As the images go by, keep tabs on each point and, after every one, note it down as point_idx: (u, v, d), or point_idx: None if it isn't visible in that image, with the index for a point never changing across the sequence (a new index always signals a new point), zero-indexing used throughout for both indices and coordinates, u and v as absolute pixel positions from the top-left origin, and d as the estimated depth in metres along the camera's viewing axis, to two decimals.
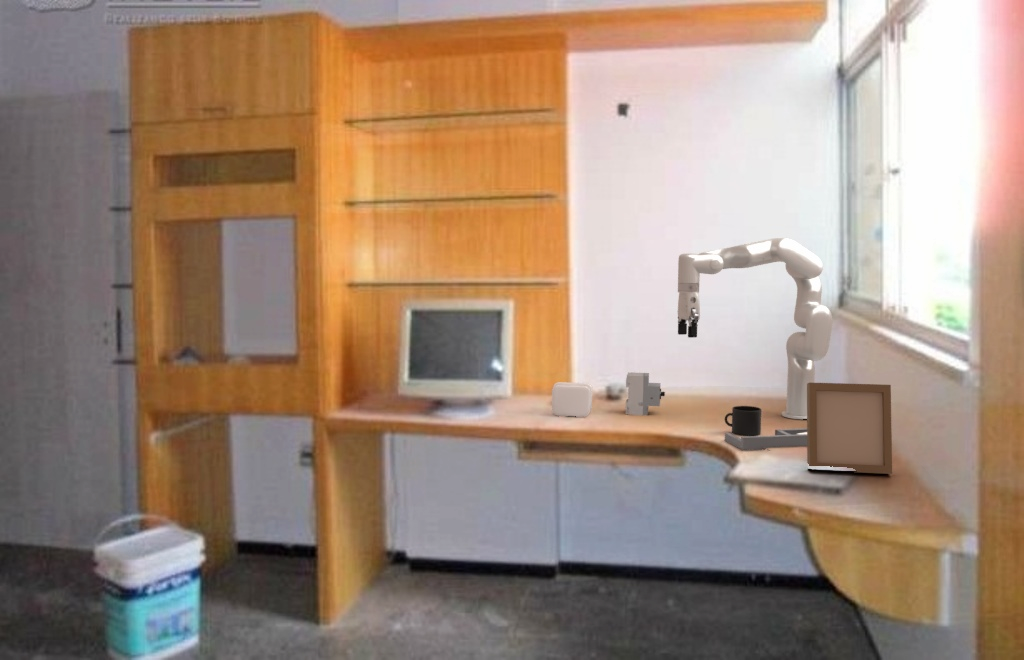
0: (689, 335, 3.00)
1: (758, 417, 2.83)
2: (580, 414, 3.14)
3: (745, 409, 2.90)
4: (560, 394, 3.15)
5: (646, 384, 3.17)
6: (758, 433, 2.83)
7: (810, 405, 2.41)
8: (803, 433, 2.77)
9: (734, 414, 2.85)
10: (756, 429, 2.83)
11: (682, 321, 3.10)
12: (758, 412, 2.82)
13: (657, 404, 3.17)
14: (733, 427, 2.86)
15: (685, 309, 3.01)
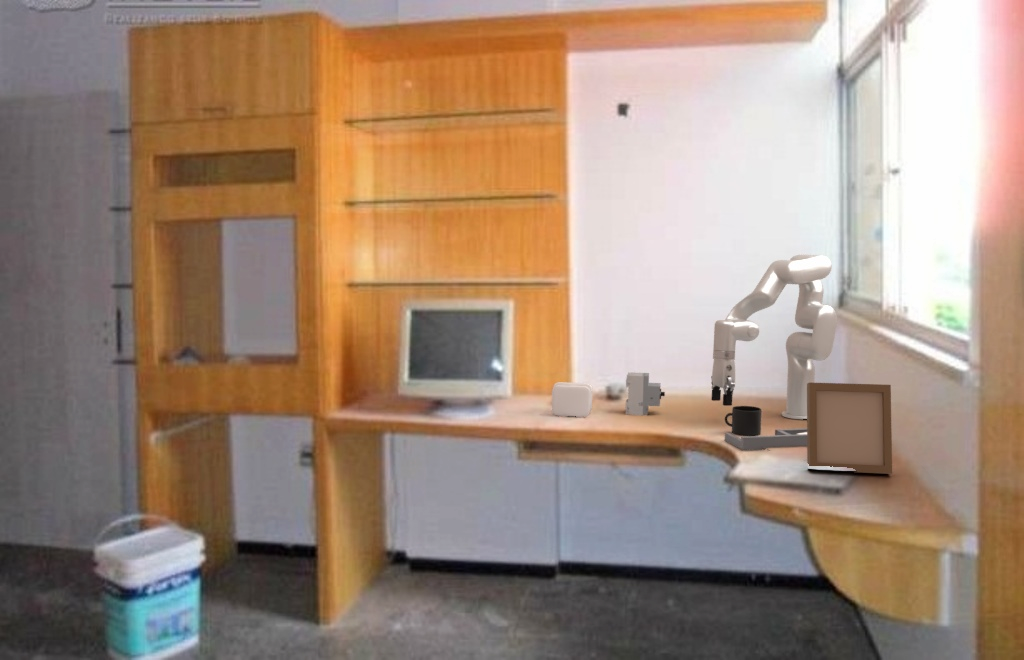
0: (724, 403, 2.97)
1: (758, 417, 2.83)
2: (580, 414, 3.14)
3: (745, 409, 2.90)
4: (560, 394, 3.15)
5: (646, 384, 3.17)
6: (758, 433, 2.83)
7: (810, 405, 2.41)
8: (803, 433, 2.77)
9: (734, 414, 2.85)
10: (756, 429, 2.83)
11: (716, 387, 3.06)
12: (758, 412, 2.82)
13: (657, 404, 3.17)
14: (733, 427, 2.86)
15: (720, 377, 2.97)
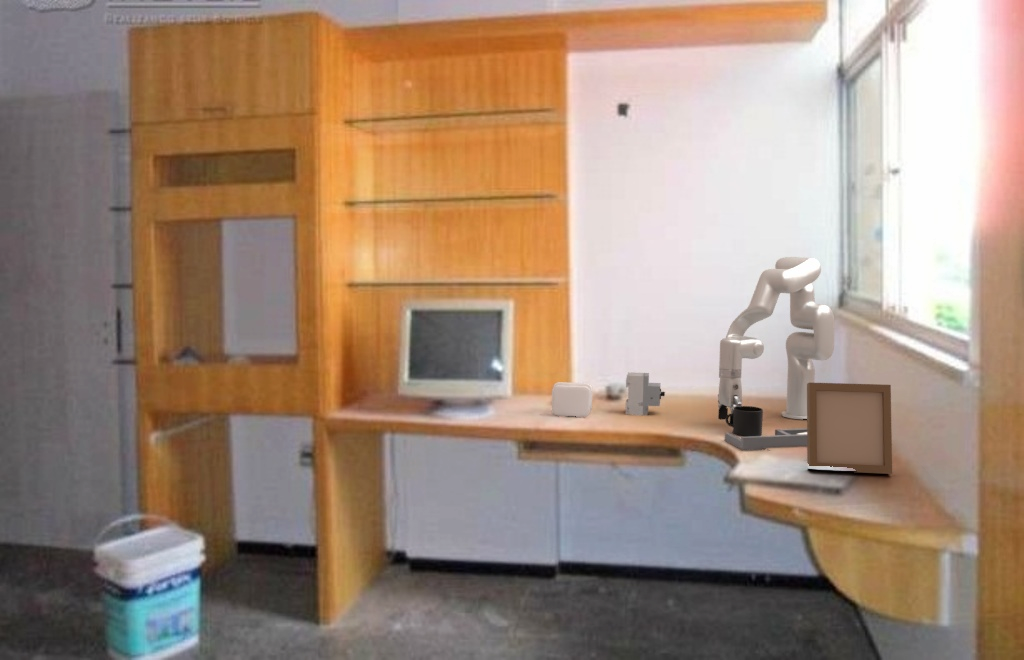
0: (731, 423, 2.92)
1: (760, 417, 2.82)
2: (580, 414, 3.14)
3: (746, 409, 2.89)
4: (560, 394, 3.15)
5: (646, 384, 3.17)
6: (760, 433, 2.83)
7: (810, 405, 2.41)
8: (803, 433, 2.77)
9: (736, 414, 2.83)
10: (758, 429, 2.82)
11: (723, 406, 3.02)
12: (760, 412, 2.81)
13: (657, 404, 3.17)
14: (735, 427, 2.84)
15: (727, 396, 2.93)
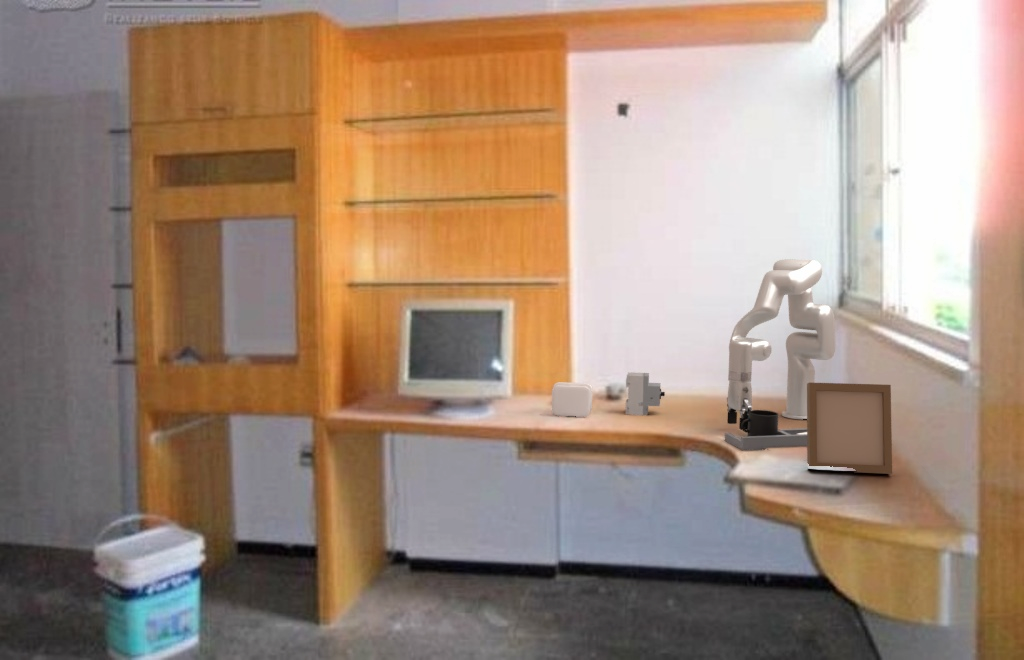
0: None
1: None
2: (580, 414, 3.14)
3: (755, 413, 2.82)
4: (560, 394, 3.15)
5: (646, 384, 3.17)
6: None
7: (810, 405, 2.41)
8: (803, 433, 2.77)
9: (756, 420, 2.75)
10: None
11: (732, 410, 2.94)
12: None
13: (657, 404, 3.17)
14: (754, 433, 2.75)
15: (736, 399, 2.85)
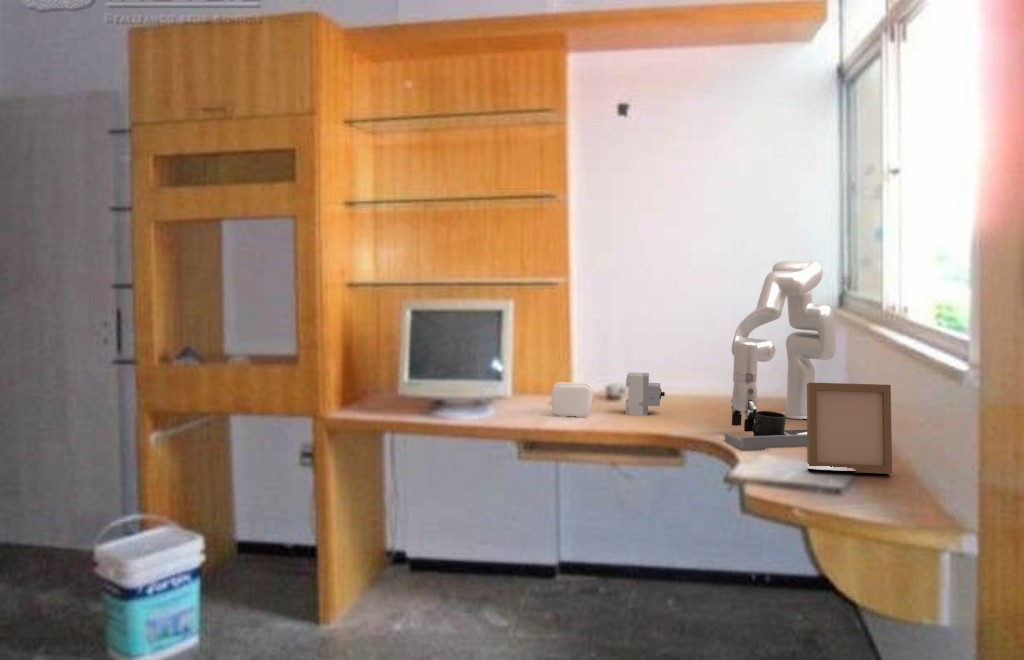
0: (745, 429, 2.79)
1: None
2: (580, 414, 3.14)
3: None
4: (560, 394, 3.15)
5: (646, 384, 3.17)
6: None
7: (810, 405, 2.41)
8: (803, 433, 2.77)
9: (769, 422, 2.71)
10: None
11: (736, 411, 2.89)
12: None
13: (657, 404, 3.17)
14: None
15: (741, 401, 2.80)
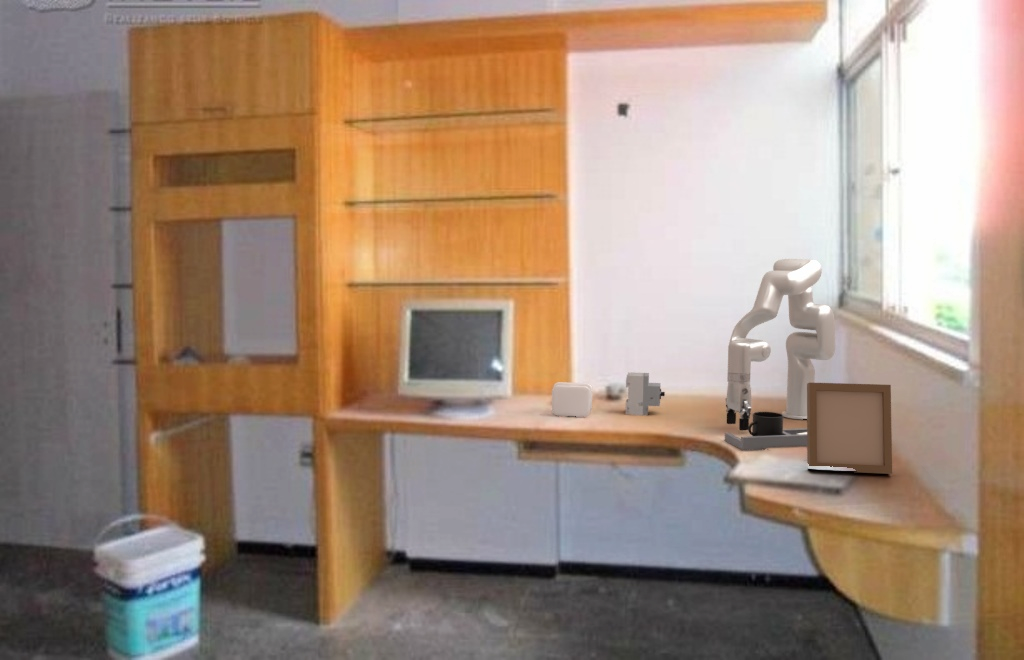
0: (740, 428, 2.86)
1: None
2: (580, 414, 3.14)
3: (757, 415, 2.79)
4: (560, 394, 3.15)
5: (646, 384, 3.17)
6: None
7: (810, 405, 2.41)
8: (803, 433, 2.77)
9: (765, 422, 2.72)
10: (782, 434, 2.75)
11: (731, 410, 2.96)
12: None
13: (657, 404, 3.17)
14: None
15: (736, 400, 2.87)
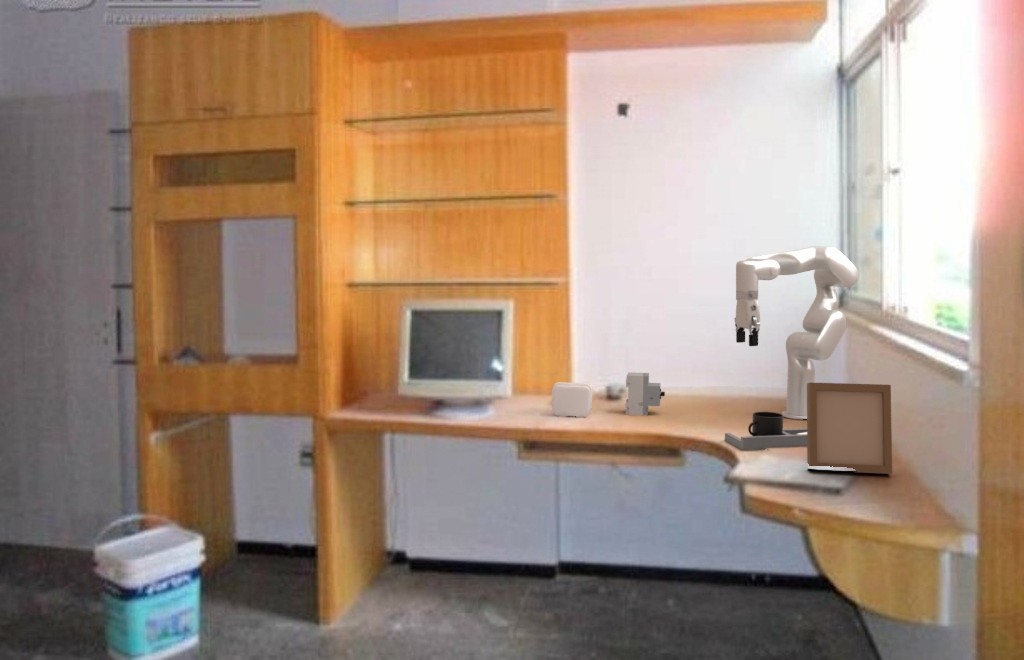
0: (750, 344, 2.95)
1: None
2: (580, 414, 3.14)
3: (757, 415, 2.79)
4: (560, 394, 3.15)
5: (646, 384, 3.17)
6: None
7: (810, 405, 2.41)
8: (803, 433, 2.77)
9: (765, 422, 2.72)
10: (782, 434, 2.75)
11: (740, 329, 3.04)
12: None
13: (657, 404, 3.17)
14: None
15: (745, 317, 2.95)
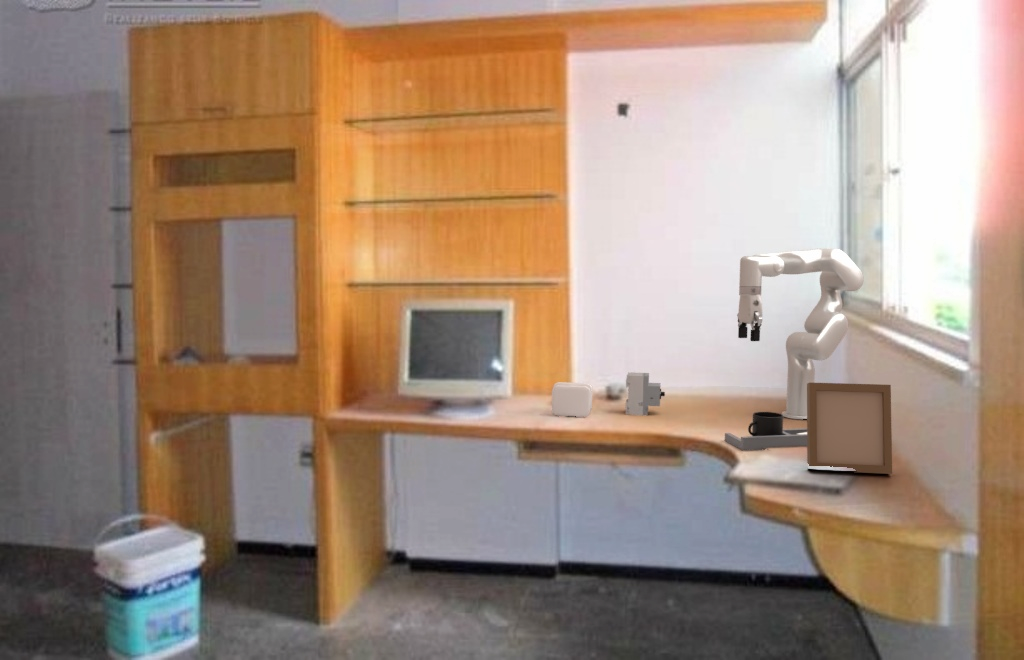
0: (752, 339, 2.96)
1: None
2: (580, 414, 3.14)
3: (757, 415, 2.79)
4: (560, 394, 3.15)
5: (646, 384, 3.17)
6: None
7: (810, 405, 2.41)
8: (803, 433, 2.77)
9: (765, 422, 2.72)
10: (782, 434, 2.75)
11: (743, 324, 3.06)
12: None
13: (657, 404, 3.17)
14: None
15: (747, 312, 2.97)
